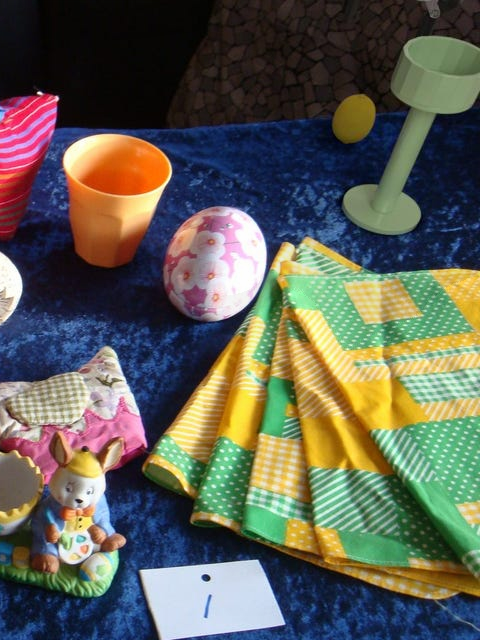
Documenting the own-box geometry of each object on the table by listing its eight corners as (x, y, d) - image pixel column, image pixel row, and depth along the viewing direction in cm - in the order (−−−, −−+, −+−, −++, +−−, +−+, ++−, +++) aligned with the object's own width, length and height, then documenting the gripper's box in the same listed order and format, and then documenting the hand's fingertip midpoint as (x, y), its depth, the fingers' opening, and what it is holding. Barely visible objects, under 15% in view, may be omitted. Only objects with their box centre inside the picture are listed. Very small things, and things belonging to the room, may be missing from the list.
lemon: (368, 139, 125) (387, 91, 119) (358, 158, 122) (377, 109, 116) (331, 129, 127) (348, 80, 121) (320, 147, 123) (337, 98, 117)
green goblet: (428, 208, 114) (504, 52, 97) (403, 246, 108) (479, 87, 92) (357, 181, 118) (418, 26, 101) (329, 216, 112) (389, 59, 96)
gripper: (352, -117, 100) (309, 21, 113) (501, -80, 93) (438, 63, 106) (375, -135, 104) (331, 1, 117) (519, -100, 97) (456, 40, 110)
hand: (382, 30), depth 111 cm, fingers open, 9 cm apart
